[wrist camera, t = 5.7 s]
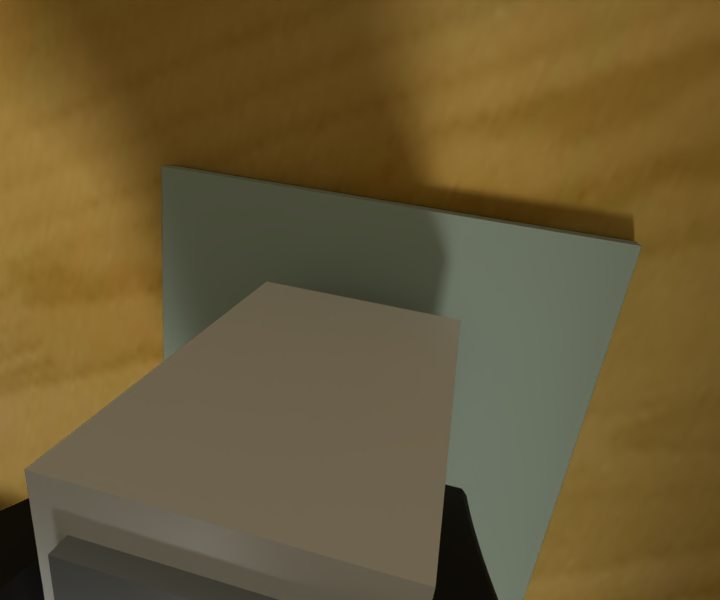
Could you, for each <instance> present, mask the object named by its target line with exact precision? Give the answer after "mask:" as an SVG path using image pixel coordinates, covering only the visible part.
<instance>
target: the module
mask: <svg viewBox="0 0 720 600" xmlns="http://www.w3.org/2000/svg"><path fill="white" fill-rule="evenodd" d="M460 322H461V320H458V319H453V318H448V317H443V316H438V315H433V314H428V313H423V312H418V311H413V310H408V309H403V308H398V307H393V306H388V305H383V304H377V303H372V302H367V301H362V300H357V299H352V298H347V297H342V296H337V295H332V294H327V293H322V292H317V291H312V290H307V289H302V288H297V287H292V286H287V285H282V284H277V283H272V282H265V283H264V284H263V285H261V286H260V287H259V288H258V289H256V290H255V291H254V292H252V293H251V294H250V295H249V296H247V297H246V298H245V299H243V300H242V301H241V302H240V303H238V304H237V305H236V306H234V307H233V308H232V309H231V310H229V311H228V312H227V313H225V314H224V315H223V316H222V317H220V318H219V319H218V320H216V321H215V322H214V323H213V324H211V325H210V326H209V327H207V328H206V329H205V330H204V331H202V332H201V333H200V334H198V335H197V336H196V337H194V338H193V339H192V340H191V341H189V342H188V343H187V344H185V345H184V346H183V347H182V348H180V349H179V350H178V351H176V352H175V353H174V354H173V355H171V356H170V357H169V358H167V359H166V360H165V361H164V362H162V363H161V364H160V365H158V366H157V367H156V368H155V369H153V370H152V371H151V372H149V373H148V374H147V375H146V376H144V377H143V378H142V379H140V380H139V381H138V382H137V383H135V384H134V385H133V386H131V387H130V388H129V389H127V390H126V391H125V392H124V393H122V394H121V395H120V396H118V397H117V398H116V399H115V400H113V401H112V402H111V403H109V404H108V405H107V406H106V407H104V408H103V409H102V410H100V411H99V412H98V413H97V414H95V415H94V416H93V417H91V418H90V419H89V420H88V421H86V422H85V423H84V424H82V425H81V426H80V427H79V428H77V429H76V430H75V431H73V432H72V433H71V434H70V435H68V436H67V437H66V438H64V439H63V440H62V441H60V442H59V443H58V444H57V445H55V446H54V447H53V448H51V449H50V450H49V451H48V452H46V453H45V454H44V455H42V456H41V457H40V458H39V459H37V460H36V461H35V462H33V463H32V464H31V465H30V466H28V467H27V468H26V469H25V476H26V482H27V489H28V495H29V501H30V508H31V514H32V521H33V527H34V534H35V540H36V546H37V553H38V559H39V566H40V572H41V579H42V585H43V591H44V598H45V600H432V599H433V595H434V591H435V587H436V577H437V566H438V556H439V545H440V534H441V524H442V513H443V502H444V492H445V481H446V471H447V460H448V449H449V439H450V428H451V418H452V407H453V396H454V386H455V375H456V364H457V354H458V343H459V333H460Z"/></svg>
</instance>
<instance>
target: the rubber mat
mask: <svg viewBox="0 0 720 600" xmlns="http://www.w3.org/2000/svg"><path fill="white" fill-rule="evenodd" d="M161 171H162V255H163V339H164V361H165V360H166V359H167V358H169V357H170V356H171V355H173V354H174V353H175V352H176V351H178V350H179V349H180V348H182V347H183V346H184V345H185V344H187V343H188V342H189V341H191V340H192V339H193V338H194V337H196V336H197V335H198V334H200V333H201V332H202V331H204V330H205V329H206V328H207V327H209V326H210V325H211V324H213V323H214V322H215V321H216V320H218V319H219V318H220V317H222V316H223V315H224V314H225V313H227V312H228V311H229V310H231V309H232V308H233V307H234V306H236V305H237V304H238V303H240V302H241V301H242V300H243V299H245V298H246V297H247V296H249V295H250V294H251V293H252V292H254V291H255V290H256V289H258V288H259V287H260V286H261V285H263V284H264V283H265V282H272V283H277V284H282V285H287V286H292V287H297V288H302V289H307V290H312V291H317V292H322V293H327V294H332V295H337V296H342V297H347V298H352V299H357V300H362V301H367V302H372V303H377V304H383V305H388V306H393V307H398V308H403V309H408V310H413V311H418V312H423V313H428V314H433V315H438V316H443V317H448V318H453V319H458V320H461V322H460V333H459V343H458V354H457V364H456V375H455V386H454V396H453V407H452V418H451V428H450V439H449V449H448V460H447V471H446V481H445V484H446V485H450V486H454V487H458V488H462V489H463V491H464V492H465V494H466V495H467V500H468V505H469V510H470V514H471V518H472V522H473V526H474V529H475V533H476V536H477V539H478V543H479V546H480V549H481V552H482V555H483V558H484V561H485V564H486V567H487V570H488V573H489V576H490V579H491V581H492V584H493V587H494V589H495V592H496V595H497V597H498V600H523V599H524V596H525V593H526V590H527V587H528V584H529V581H530V578H531V575H532V572H533V569H534V566H535V563H536V560H537V557H538V554H539V551H540V548H541V545H542V542H543V540H544V537H545V534H546V531H547V528H548V525H549V522H550V519H551V516H552V513H553V510H554V507H555V504H556V501H557V498H558V495H559V492H560V489H561V486H562V483H563V480H564V477H565V474H566V471H567V468H568V465H569V462H570V459H571V456H572V453H573V450H574V447H575V444H576V441H577V438H578V435H579V432H580V429H581V426H582V423H583V420H584V417H585V414H586V411H587V408H588V405H589V402H590V399H591V396H592V393H593V390H594V387H595V384H596V381H597V378H598V375H599V372H600V369H601V366H602V363H603V360H604V357H605V354H606V351H607V348H608V345H609V342H610V339H611V336H612V333H613V330H614V328H615V325H616V322H617V319H618V316H619V313H620V310H621V307H622V304H623V301H624V298H625V295H626V292H627V289H628V286H629V283H630V280H631V277H632V274H633V271H634V268H635V265H636V262H637V259H638V256H639V253H640V250H641V247H642V246H641V245H640V244H638V243H637V242H635V241H629V240H623V239H617V238H611V237H605V236H599V235H592V234H586V233H580V232H574V231H568V230H562V229H556V228H550V227H544V226H538V225H532V224H526V223H520V222H513V221H507V220H501V219H495V218H489V217H483V216H477V215H471V214H465V213H459V212H453V211H447V210H441V209H434V208H428V207H422V206H416V205H410V204H404V203H398V202H392V201H386V200H380V199H374V198H368V197H362V196H355V195H349V194H343V193H337V192H331V191H325V190H319V189H313V188H307V187H301V186H295V185H289V184H283V183H276V182H270V181H264V180H258V179H252V178H246V177H240V176H234V175H228V174H222V173H216V172H210V171H204V170H197V169H191V168H185V167H179V166H173V165H170V166H162V167H161Z"/></svg>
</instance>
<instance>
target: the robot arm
mask: <svg viewBox="0 0 720 600" xmlns="http://www.w3.org/2000/svg"><path fill="white" fill-rule="evenodd" d="M0 600H45V598H44V591H43V585H42V579H41V572H40V566H39V559H38V553H37V546H36V540H35V534H34V527H33V521H32V514H31V508H30V501H29V498H28V499H26V500H24V501H22V502H20V503H17V504H15V505H13V506H11V507H8V508H6V509H4V510H1V511H0ZM432 600H498V597H497V595H496V592H495V589H494V587H493V584H492V581H491V579H490V576H489V573H488V570H487V567H486V564H485V561H484V558H483V555H482V552H481V549H480V546H479V543H478V539H477V536H476V533H475V529H474V526H473V522H472V518H471V514H470V510H469V505H468V500H467V495H466V494H465V492H464V491H463V489H462V488H458V487H454V486H450V485H446V484H445V492H444V502H443V513H442V524H441V534H440V545H439V556H438V566H437V577H436V587H435V591H434V595H433V599H432Z"/></svg>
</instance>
